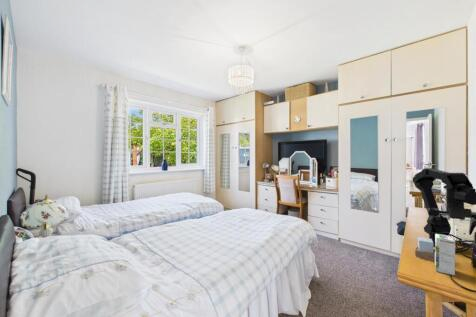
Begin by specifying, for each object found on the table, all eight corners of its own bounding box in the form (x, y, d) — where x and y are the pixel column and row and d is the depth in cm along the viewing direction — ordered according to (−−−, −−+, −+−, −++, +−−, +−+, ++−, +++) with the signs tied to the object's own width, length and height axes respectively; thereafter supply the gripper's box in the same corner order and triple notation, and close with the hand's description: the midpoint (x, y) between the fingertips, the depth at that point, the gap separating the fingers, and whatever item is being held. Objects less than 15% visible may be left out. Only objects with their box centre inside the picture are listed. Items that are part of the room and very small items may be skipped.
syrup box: (434, 265, 92) (434, 233, 92) (453, 269, 88) (453, 236, 88) (435, 271, 88) (435, 237, 87) (456, 276, 84) (455, 240, 83)
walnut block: (417, 252, 104) (417, 245, 104) (437, 257, 99) (436, 249, 99) (415, 257, 100) (415, 250, 100) (435, 262, 95) (435, 255, 95)
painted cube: (417, 246, 103) (417, 236, 103) (431, 249, 100) (431, 238, 100) (419, 250, 99) (419, 240, 99) (433, 253, 96) (433, 242, 96)
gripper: (428, 200, 97) (428, 233, 97) (490, 206, 85) (490, 243, 85) (427, 196, 105) (428, 226, 106) (484, 200, 93) (484, 235, 93)
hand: (455, 232), depth 97 cm, fingers open, 9 cm apart
